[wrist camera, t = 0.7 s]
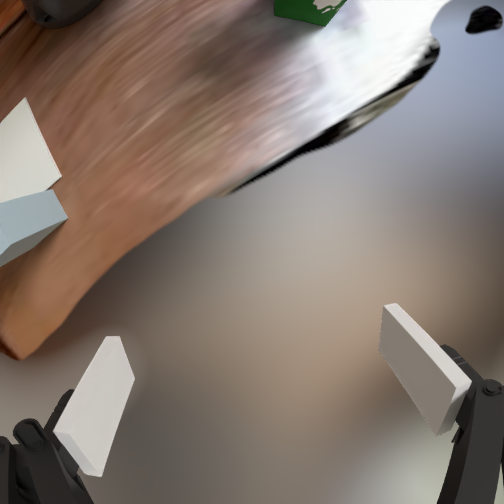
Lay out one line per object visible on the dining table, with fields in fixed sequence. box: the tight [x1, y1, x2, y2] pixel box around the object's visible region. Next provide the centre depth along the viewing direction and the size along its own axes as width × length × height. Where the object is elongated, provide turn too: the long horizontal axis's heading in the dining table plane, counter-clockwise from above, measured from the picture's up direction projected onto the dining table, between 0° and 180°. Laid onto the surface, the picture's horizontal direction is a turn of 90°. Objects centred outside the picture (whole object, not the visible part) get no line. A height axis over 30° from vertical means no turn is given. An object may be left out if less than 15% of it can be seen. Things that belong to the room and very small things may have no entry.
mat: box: [0, 98, 62, 203], centre depth 35 cm, size 15×14×1 cm
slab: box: [0, 189, 68, 267], centre depth 31 cm, size 5×9×14 cm, turn 119°
